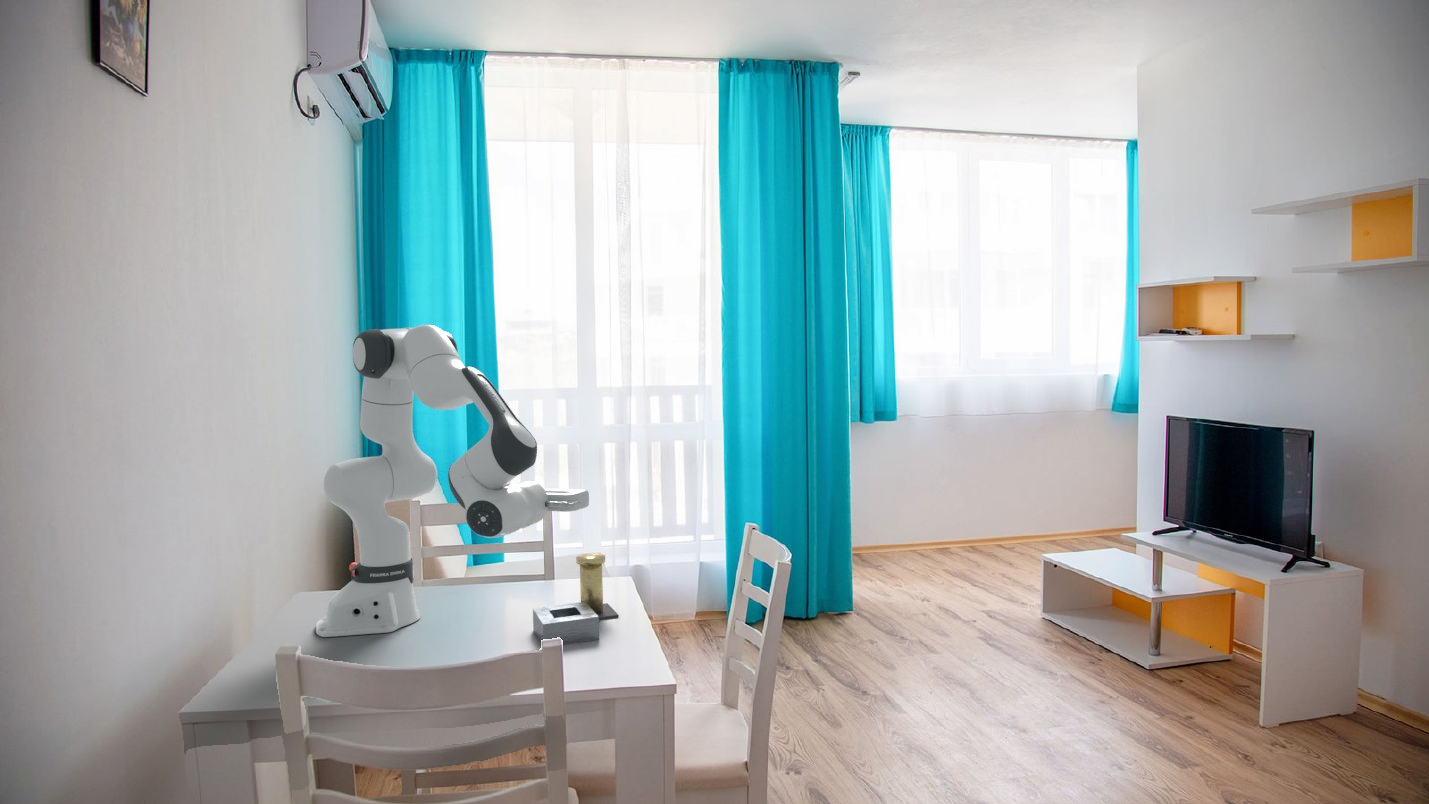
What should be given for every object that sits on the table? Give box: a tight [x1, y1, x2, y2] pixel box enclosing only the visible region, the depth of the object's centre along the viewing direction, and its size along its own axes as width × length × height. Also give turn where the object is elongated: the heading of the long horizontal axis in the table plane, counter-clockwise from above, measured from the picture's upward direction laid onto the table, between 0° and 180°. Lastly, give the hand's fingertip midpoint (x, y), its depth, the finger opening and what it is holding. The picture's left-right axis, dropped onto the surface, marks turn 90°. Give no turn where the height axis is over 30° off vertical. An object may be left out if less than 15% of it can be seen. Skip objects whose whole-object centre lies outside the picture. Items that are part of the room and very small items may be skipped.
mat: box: [597, 602, 620, 621], centre depth 200 cm, size 10×10×1 cm
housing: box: [532, 601, 600, 645], centre depth 186 cm, size 12×12×5 cm
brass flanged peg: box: [575, 552, 606, 614], centre depth 200 cm, size 7×7×13 cm
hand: (556, 492), depth 182 cm, fingers open, 8 cm apart
